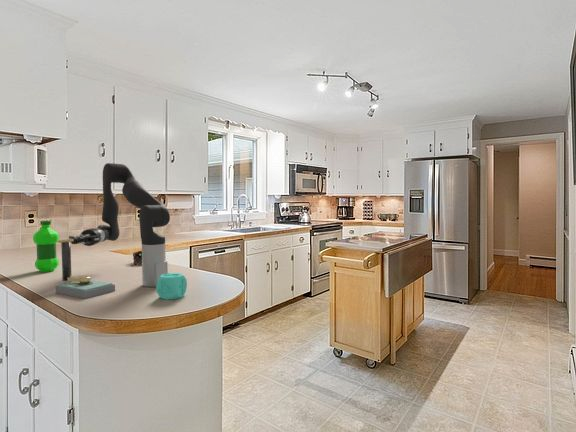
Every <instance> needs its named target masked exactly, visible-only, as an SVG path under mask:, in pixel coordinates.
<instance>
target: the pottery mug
mask: <svg viewBox="0 0 576 432" xmlns="http://www.w3.org/2000/svg"><path fill="white" fill-rule="evenodd" d="M132 256H133V258H132V259H133V265H135V266H136V265H137V264H139V263H141V264H142V250H137V251H135V252H133V253H132Z"/></svg>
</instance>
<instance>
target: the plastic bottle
mask: <svg viewBox="0 0 576 432" xmlns="http://www.w3.org/2000/svg"><path fill="white" fill-rule="evenodd" d="M39 223H40V226H41V228H40V229H39V230H37V231H36V232H35V233H33V236H32V241H33V243H34V244H35V245H36V260H35V262H34V267H35V269H36V270H38V271H39V272H41V273H49V271H50V272H53V271H54V270H55V269H57V267H58V266H59V265H60V261H59V259H58V257H57V243H58V240H60V235H59V233H58V232H57V231H56V230H54V229H52V228H51V225H52V221H51V220H41V221H40V222H39Z"/></svg>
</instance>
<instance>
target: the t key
mask: <svg viewBox="0 0 576 432" xmlns="http://www.w3.org/2000/svg"><path fill="white" fill-rule="evenodd" d="M72 241H74V239H69V238H66V239H59V240H58V242H57V243H58V244H61V267H62V269H61V271H62V272H61V273H62V281H63V282H65V281H66V282H73V281H74V282H80V283H81V284H85V283H90V282H91V280H92V279H91V278H92V277H91V276H89V275H87V276H73V275H72V253H71V251H72V250H71V243H70V242H72Z"/></svg>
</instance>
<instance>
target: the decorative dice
mask: <svg viewBox="0 0 576 432" xmlns="http://www.w3.org/2000/svg"><path fill="white" fill-rule="evenodd" d="M187 287H188V282H187V279H186V276H185V275H184V274H183V273H179V272H168V274H163V275H161V276H160V277H159V279H158V281H157V284H156V287H155V289H156V290H155V291H156V293H157V295H158V297H159V298H161V299H162V300H168V301H169V300H170V301H171V300H177V299H180V298H182V297H184V296H185V294H186V292H187Z"/></svg>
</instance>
